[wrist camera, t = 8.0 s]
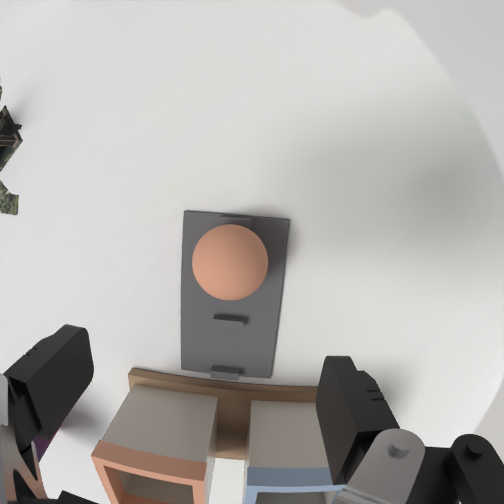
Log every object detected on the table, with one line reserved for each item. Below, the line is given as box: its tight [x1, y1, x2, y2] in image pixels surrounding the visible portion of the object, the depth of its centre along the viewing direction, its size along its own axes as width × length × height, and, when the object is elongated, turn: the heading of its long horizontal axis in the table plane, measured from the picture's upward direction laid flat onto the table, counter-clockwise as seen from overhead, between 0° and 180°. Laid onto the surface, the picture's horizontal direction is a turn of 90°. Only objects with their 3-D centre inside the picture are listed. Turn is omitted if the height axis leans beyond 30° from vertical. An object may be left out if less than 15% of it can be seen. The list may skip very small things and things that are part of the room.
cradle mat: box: [181, 211, 289, 380], centre depth 25 cm, size 14×8×1 cm, turn 175°
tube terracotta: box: [91, 384, 218, 504], centre depth 22 cm, size 8×8×10 cm
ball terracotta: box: [192, 224, 268, 300], centre depth 22 cm, size 5×5×5 cm
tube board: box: [128, 368, 318, 460], centre depth 28 cm, size 10×20×1 cm, turn 85°
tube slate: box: [242, 400, 346, 504], centre depth 22 cm, size 8×8×10 cm
